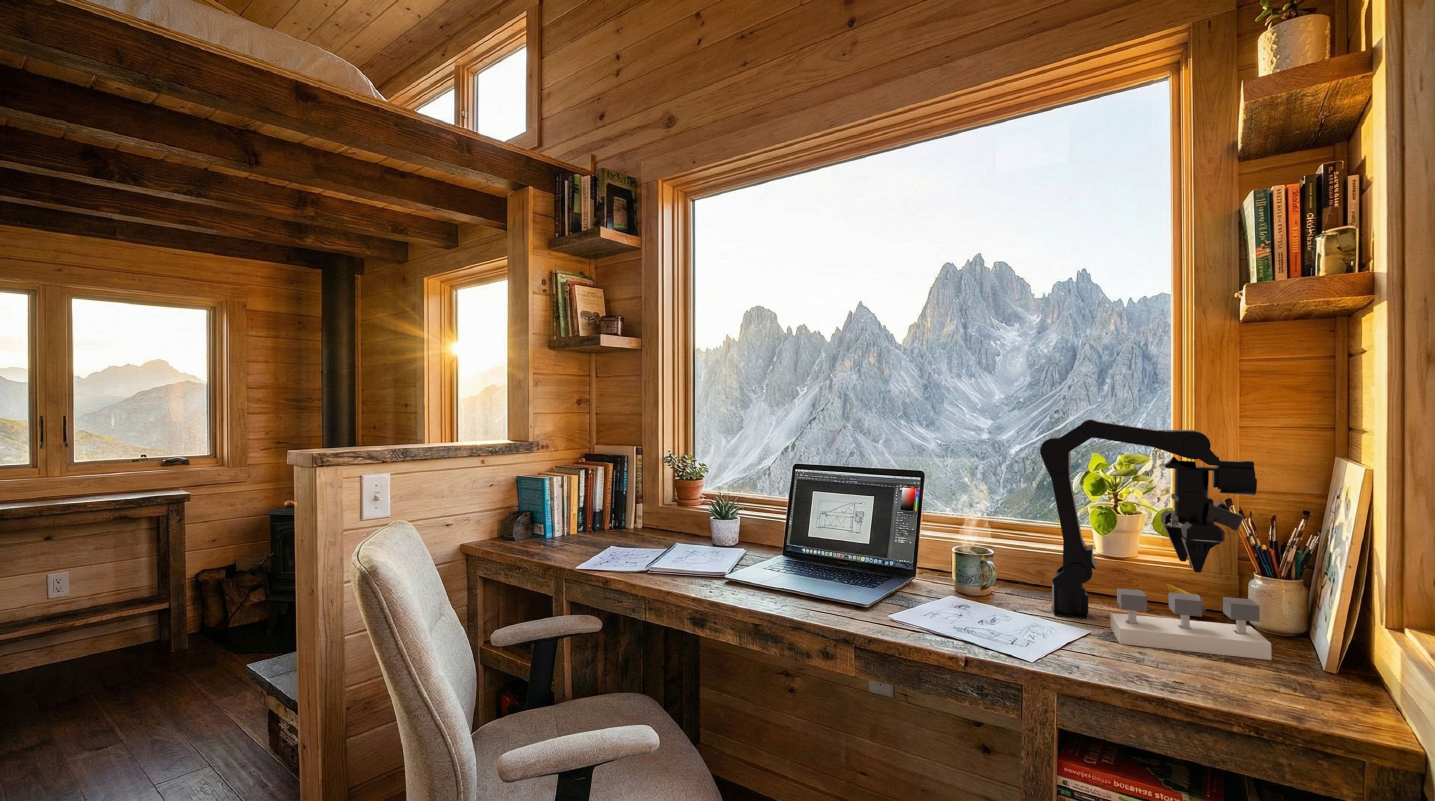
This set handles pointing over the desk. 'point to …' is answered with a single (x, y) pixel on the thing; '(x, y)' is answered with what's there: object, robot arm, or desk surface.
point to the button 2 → (1241, 612)
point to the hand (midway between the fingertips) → (1189, 566)
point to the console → (1190, 636)
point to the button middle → (1185, 607)
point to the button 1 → (1132, 602)
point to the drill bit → (1175, 590)
